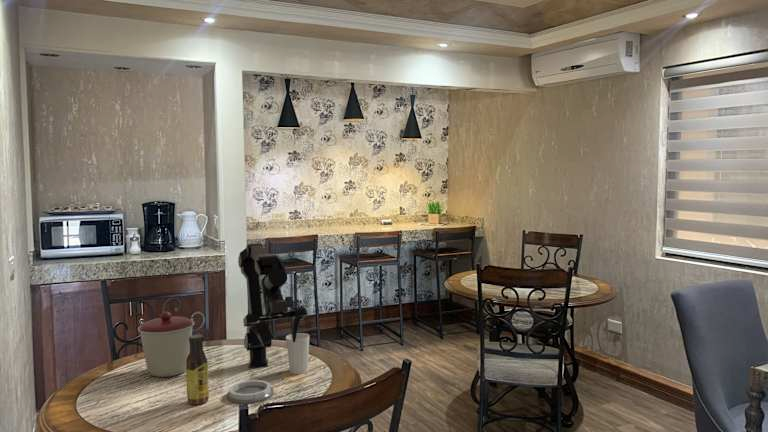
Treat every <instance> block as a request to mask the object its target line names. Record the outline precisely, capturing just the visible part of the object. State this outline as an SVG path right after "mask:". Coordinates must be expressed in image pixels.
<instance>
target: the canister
mask: <svg viewBox="0 0 768 432" xmlns="http://www.w3.org/2000/svg"><path fill="white" fill-rule="evenodd" d="M193 326H195V321H194V320H192V319H190V318H189V317H184V316H178V315H177V316H176V315H175V316H172V314H171V312H170V311H163V312H162V313H160V317H157V318H154V319H149V320H147V321H144V323H142V324H141V325H139V326H138V328H137V331H138V332H139V333H140V339H141V344H142V350H143V355H144V360H145V364H146V368H147V371H148V373H149V375H151V376H153V377H157V378H158V377H159V378H165V377H166V378H168V377H174V376H177V375H180V374H182V373H183V374H184V373H186V359H187V357H188V355H189V353H190V342H189V337H190V336H192V335H193Z"/></svg>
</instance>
